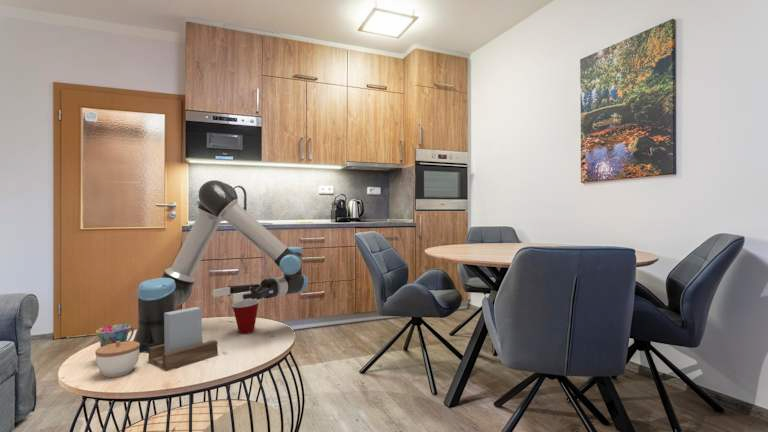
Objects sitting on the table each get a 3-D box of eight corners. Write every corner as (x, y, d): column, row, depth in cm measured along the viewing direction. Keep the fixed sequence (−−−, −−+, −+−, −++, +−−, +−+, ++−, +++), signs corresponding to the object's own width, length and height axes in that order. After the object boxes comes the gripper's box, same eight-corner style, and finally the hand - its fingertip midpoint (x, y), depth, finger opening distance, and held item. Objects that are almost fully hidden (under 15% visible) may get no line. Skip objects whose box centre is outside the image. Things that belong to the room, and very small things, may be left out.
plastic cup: (236, 327, 157) (235, 298, 157) (262, 326, 158) (262, 298, 158) (227, 336, 146) (227, 305, 146) (256, 335, 147) (255, 304, 147)
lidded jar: (116, 365, 118) (116, 335, 118) (148, 366, 117) (148, 336, 117) (85, 380, 107) (85, 346, 107) (120, 381, 106) (120, 347, 106)
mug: (112, 367, 116) (112, 333, 116) (88, 365, 118) (87, 331, 118) (145, 354, 128) (144, 322, 128) (121, 352, 130) (121, 321, 130)
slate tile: (164, 357, 120) (164, 312, 121) (196, 348, 128) (195, 306, 128) (170, 359, 118) (169, 314, 118) (202, 350, 126) (201, 308, 126)
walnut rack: (148, 361, 121) (148, 347, 121) (198, 347, 133) (198, 335, 133) (166, 371, 113) (166, 355, 113) (217, 355, 126) (217, 341, 126)
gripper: (293, 301, 143) (242, 311, 127) (255, 293, 159) (205, 301, 142) (293, 281, 143) (242, 288, 127) (255, 275, 159) (205, 281, 142)
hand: (222, 295), depth 134 cm, fingers open, 13 cm apart
